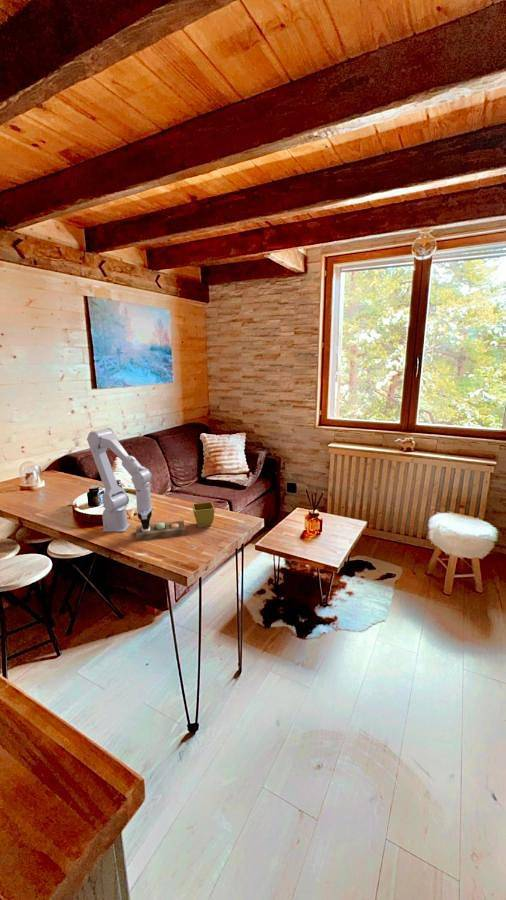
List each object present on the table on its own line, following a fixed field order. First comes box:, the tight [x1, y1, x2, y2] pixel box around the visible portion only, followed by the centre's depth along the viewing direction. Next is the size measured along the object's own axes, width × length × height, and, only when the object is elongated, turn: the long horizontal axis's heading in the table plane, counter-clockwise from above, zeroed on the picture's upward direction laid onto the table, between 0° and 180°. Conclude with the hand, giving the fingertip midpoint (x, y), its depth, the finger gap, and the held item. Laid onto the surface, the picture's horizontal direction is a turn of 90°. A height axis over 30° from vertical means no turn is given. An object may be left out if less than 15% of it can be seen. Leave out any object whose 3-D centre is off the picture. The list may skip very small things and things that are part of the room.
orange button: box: [171, 523, 179, 529], centre depth 162 cm, size 4×4×2 cm
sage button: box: [155, 522, 166, 530], centre depth 161 cm, size 4×4×2 cm
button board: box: [135, 520, 186, 542], centre depth 161 cm, size 20×9×2 cm, turn 105°
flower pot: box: [192, 501, 216, 528], centre depth 168 cm, size 9×9×9 cm
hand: (145, 528), depth 159 cm, fingers closed, pressing on cream button
